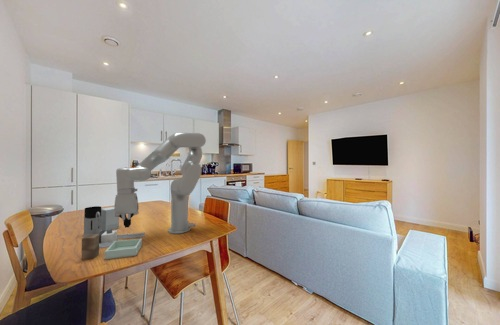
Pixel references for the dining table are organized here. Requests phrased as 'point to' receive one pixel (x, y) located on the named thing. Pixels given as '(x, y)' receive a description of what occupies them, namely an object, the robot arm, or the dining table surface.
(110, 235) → the block
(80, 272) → the dining table surface
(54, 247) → the dining table surface
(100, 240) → the piston rail
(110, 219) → the supplement box
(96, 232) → the glass holder
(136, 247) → the tray
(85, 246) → the stop block
